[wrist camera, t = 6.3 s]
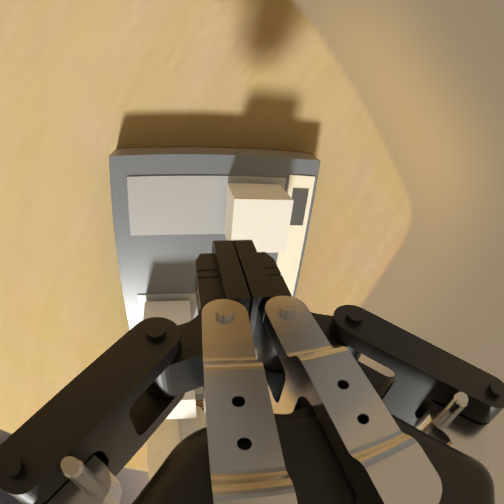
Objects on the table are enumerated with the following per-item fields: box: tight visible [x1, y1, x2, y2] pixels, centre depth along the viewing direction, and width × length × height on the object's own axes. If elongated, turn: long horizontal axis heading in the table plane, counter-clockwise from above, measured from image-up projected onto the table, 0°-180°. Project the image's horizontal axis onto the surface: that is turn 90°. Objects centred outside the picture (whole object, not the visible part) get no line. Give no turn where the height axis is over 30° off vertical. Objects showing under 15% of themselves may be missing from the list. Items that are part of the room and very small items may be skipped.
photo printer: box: [147, 405, 205, 481], centre depth 27 cm, size 10×4×12 cm, turn 145°
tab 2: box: [224, 183, 294, 253], centre depth 17 cm, size 3×3×2 cm
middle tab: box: [143, 301, 191, 325], centre depth 20 cm, size 3×3×2 cm
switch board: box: [109, 147, 320, 400], centre depth 23 cm, size 22×12×2 cm, turn 174°
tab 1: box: [166, 390, 197, 419], centre depth 24 cm, size 3×3×2 cm
